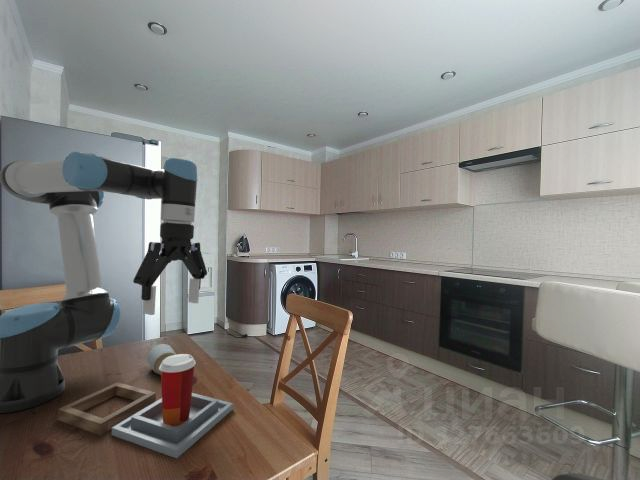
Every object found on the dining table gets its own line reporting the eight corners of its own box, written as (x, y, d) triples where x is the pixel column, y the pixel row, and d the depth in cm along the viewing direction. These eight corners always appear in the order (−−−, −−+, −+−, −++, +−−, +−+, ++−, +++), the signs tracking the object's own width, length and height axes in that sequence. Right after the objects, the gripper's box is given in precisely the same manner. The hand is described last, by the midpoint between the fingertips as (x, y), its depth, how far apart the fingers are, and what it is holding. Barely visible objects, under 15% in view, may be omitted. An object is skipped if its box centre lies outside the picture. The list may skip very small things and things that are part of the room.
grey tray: (111, 435, 64) (112, 420, 64) (177, 394, 81) (177, 383, 81) (176, 458, 58) (177, 442, 58) (232, 409, 75) (233, 397, 75)
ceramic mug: (153, 379, 89) (154, 353, 89) (146, 369, 95) (147, 345, 95) (189, 370, 96) (191, 346, 96) (181, 362, 102) (182, 339, 102)
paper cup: (188, 405, 75) (190, 350, 75) (198, 421, 69) (200, 361, 69) (153, 416, 70) (155, 357, 70) (160, 434, 64) (162, 369, 64)
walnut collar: (57, 419, 68) (58, 409, 68) (117, 391, 81) (117, 382, 81) (100, 435, 64) (100, 423, 64) (155, 402, 77) (156, 392, 77)
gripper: (143, 219, 60) (137, 322, 61) (223, 226, 84) (218, 300, 84) (117, 218, 63) (112, 317, 63) (202, 224, 86) (197, 297, 87)
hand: (172, 307), depth 74 cm, fingers open, 13 cm apart
